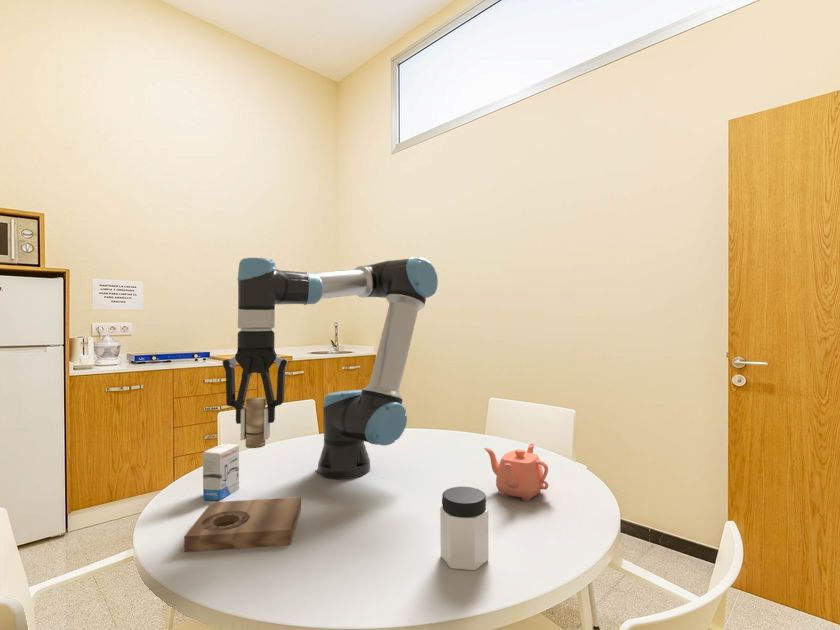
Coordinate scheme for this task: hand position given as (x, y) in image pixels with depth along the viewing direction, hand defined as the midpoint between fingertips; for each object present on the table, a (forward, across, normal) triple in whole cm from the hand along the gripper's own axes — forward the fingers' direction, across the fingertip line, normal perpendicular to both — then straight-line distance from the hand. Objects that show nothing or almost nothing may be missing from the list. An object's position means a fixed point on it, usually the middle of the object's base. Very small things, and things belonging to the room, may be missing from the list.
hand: (255, 437), depth 98 cm
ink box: (+19, +12, -20) cm, 31 cm away
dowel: (+2, 0, 0) cm, 2 cm away
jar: (+19, -42, +19) cm, 50 cm away
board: (+19, +1, +1) cm, 19 cm away
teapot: (+18, -62, -10) cm, 65 cm away
